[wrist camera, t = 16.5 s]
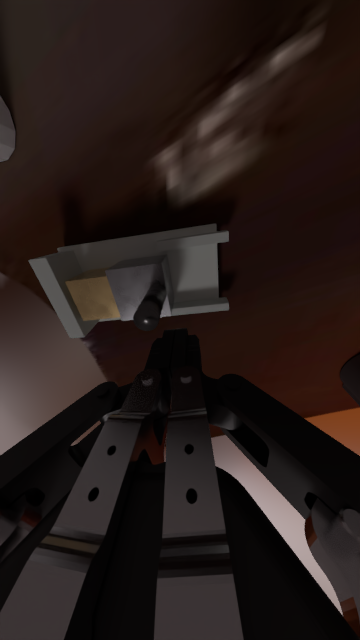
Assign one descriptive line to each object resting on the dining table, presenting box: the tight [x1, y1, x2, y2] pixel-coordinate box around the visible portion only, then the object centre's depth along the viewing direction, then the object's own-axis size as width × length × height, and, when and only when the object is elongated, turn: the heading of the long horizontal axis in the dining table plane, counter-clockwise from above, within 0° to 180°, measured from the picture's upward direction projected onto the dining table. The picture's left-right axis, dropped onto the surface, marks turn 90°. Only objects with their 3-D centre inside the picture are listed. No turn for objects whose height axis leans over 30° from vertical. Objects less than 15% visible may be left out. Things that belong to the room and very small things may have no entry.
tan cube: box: [65, 267, 120, 321], centre depth 23 cm, size 5×5×5 cm
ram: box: [105, 254, 174, 331], centre depth 19 cm, size 6×6×11 cm
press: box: [28, 224, 229, 338], centre depth 23 cm, size 21×11×6 cm, turn 98°
